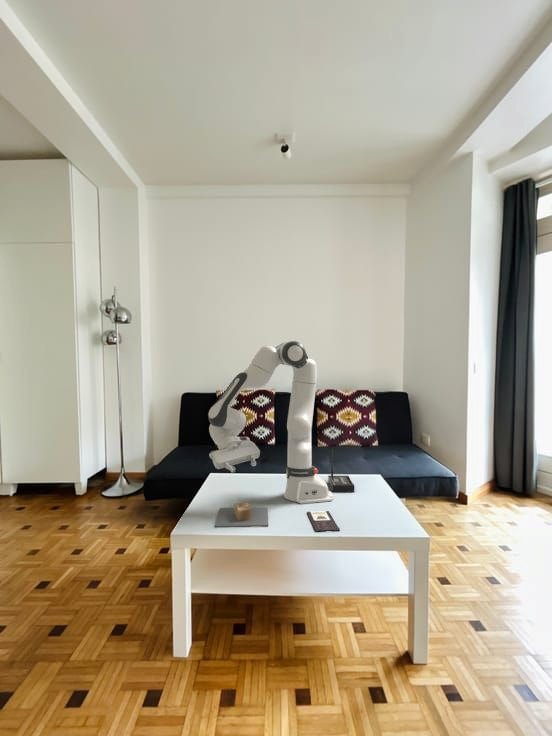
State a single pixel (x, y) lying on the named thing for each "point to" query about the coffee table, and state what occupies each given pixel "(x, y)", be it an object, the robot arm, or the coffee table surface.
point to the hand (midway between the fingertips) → (244, 467)
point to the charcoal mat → (230, 520)
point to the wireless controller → (340, 481)
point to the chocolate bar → (322, 521)
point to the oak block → (242, 511)
